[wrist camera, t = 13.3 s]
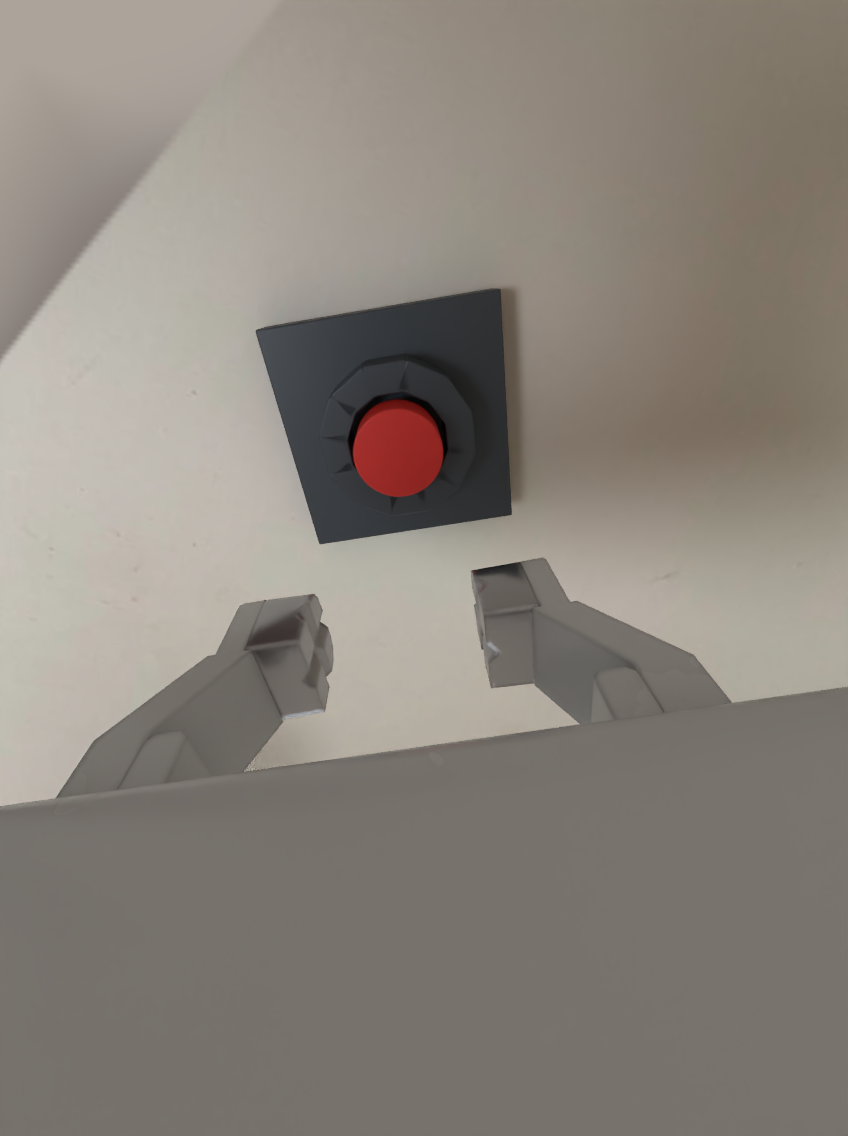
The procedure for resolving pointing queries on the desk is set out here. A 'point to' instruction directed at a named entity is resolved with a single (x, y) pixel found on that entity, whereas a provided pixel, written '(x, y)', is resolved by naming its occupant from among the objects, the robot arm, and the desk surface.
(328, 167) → the desk surface
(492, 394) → the button box
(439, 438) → the red button
